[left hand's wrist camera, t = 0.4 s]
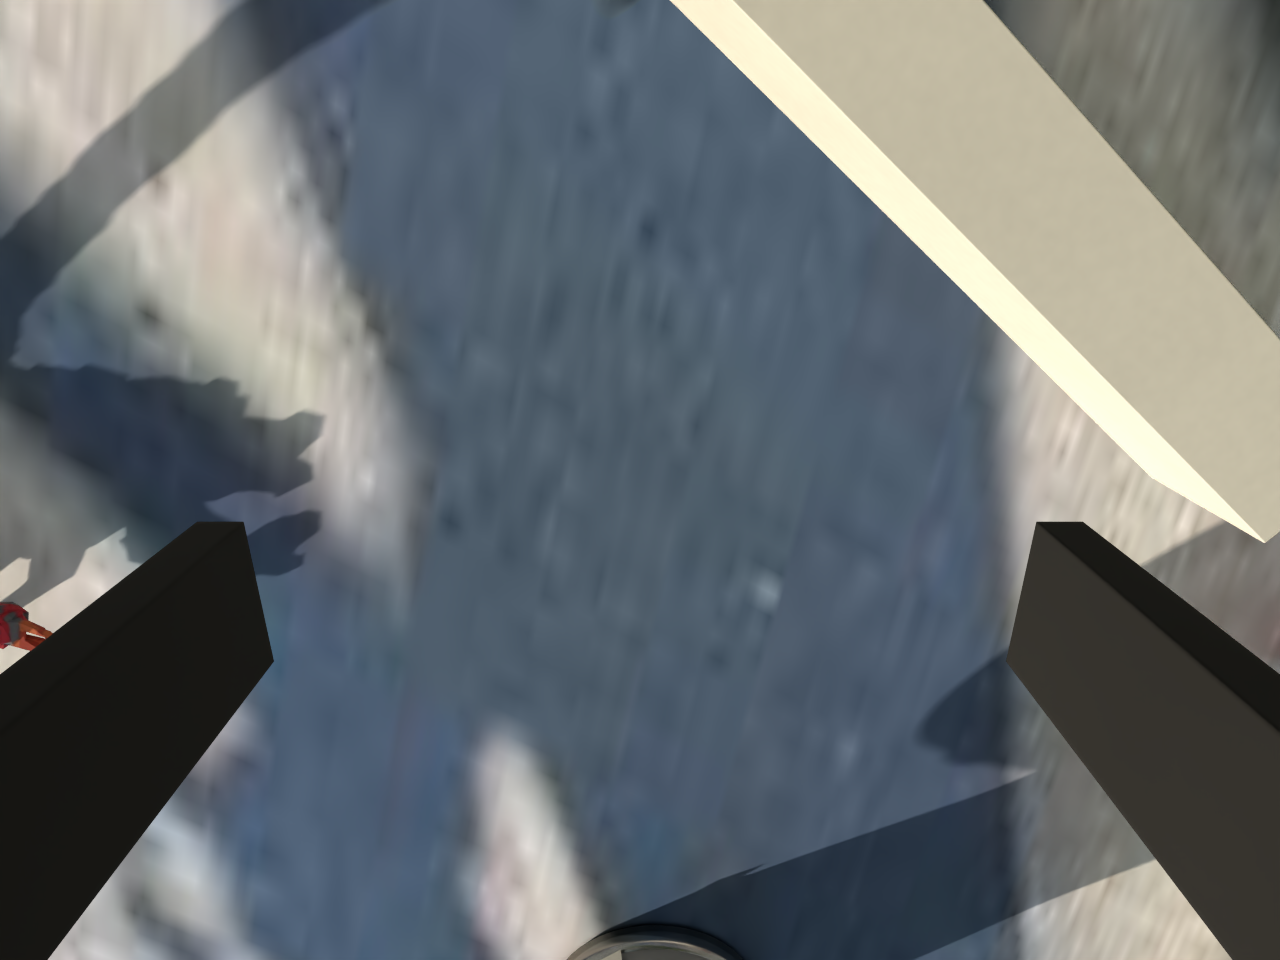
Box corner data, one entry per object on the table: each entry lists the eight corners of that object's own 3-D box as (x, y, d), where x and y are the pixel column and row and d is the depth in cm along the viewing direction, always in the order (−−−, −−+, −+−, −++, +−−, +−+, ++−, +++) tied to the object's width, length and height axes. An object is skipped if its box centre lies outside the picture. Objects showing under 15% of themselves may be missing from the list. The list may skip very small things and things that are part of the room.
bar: (1241, 401, 39) (1381, 453, 32) (1151, 477, 41) (1265, 543, 33) (293, -625, 26) (152, -951, 18) (215, -451, 27) (56, -687, 20)
